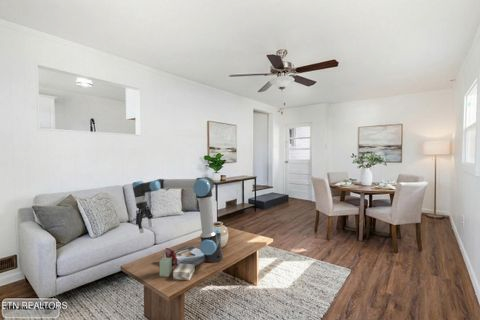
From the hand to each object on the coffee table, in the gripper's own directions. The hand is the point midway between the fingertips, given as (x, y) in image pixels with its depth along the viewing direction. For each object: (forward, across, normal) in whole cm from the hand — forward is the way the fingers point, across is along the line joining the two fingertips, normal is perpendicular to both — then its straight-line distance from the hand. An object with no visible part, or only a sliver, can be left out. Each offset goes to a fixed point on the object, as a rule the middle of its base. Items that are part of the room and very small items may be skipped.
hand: (146, 230), depth 173 cm
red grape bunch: (+29, -4, +11) cm, 31 cm away
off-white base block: (+32, +12, +27) cm, 43 cm away
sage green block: (+29, +11, +14) cm, 34 cm away
